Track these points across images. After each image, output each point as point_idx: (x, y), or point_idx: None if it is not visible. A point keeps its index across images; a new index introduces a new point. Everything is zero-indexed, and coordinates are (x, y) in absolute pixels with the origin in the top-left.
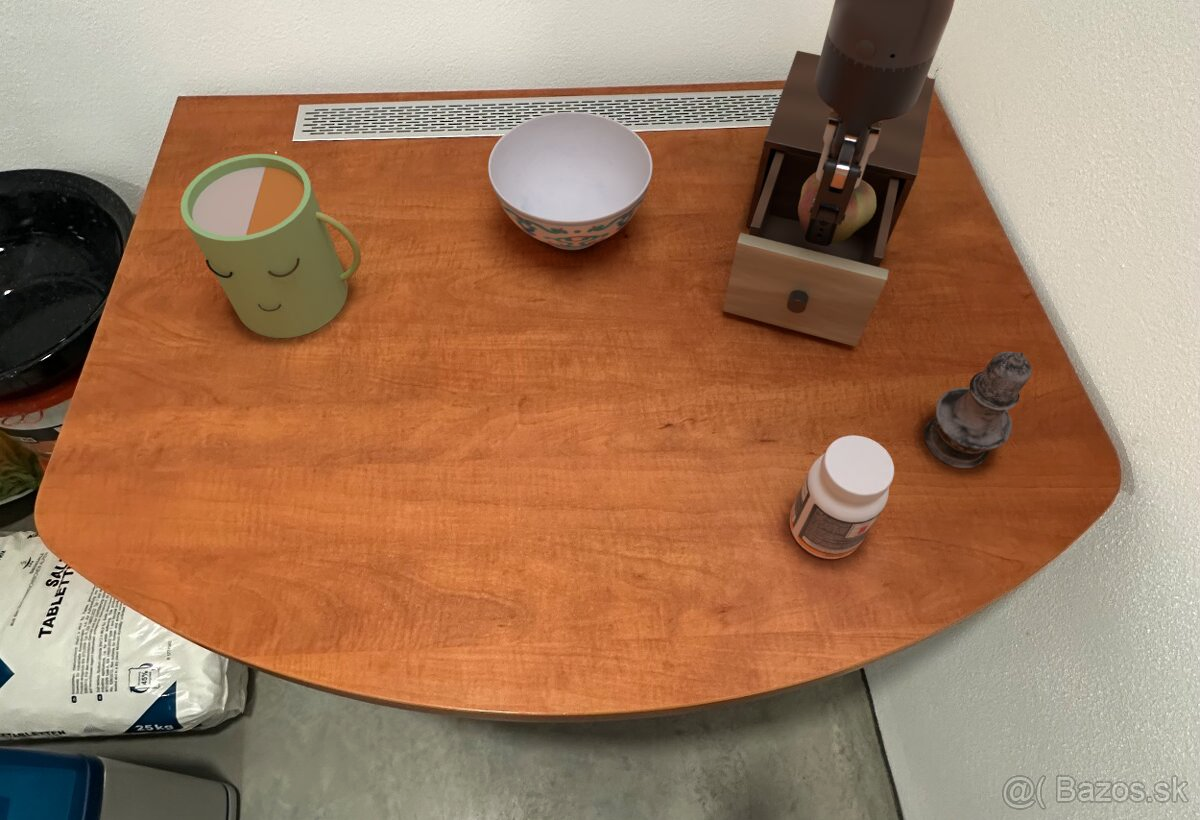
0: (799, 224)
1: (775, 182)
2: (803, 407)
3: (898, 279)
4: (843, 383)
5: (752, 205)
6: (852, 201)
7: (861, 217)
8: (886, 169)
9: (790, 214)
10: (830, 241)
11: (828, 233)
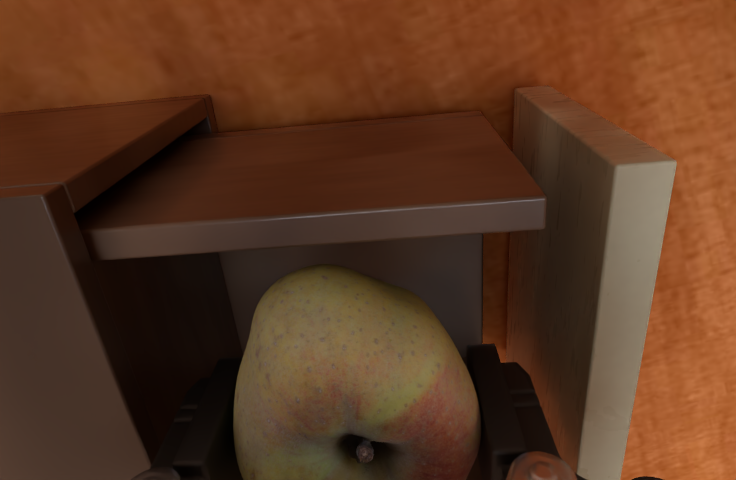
0: (242, 310)
1: None
2: (731, 147)
3: (250, 30)
4: (642, 79)
5: None
6: (420, 421)
7: (424, 339)
8: (92, 305)
9: (234, 341)
10: (496, 354)
11: (540, 406)
